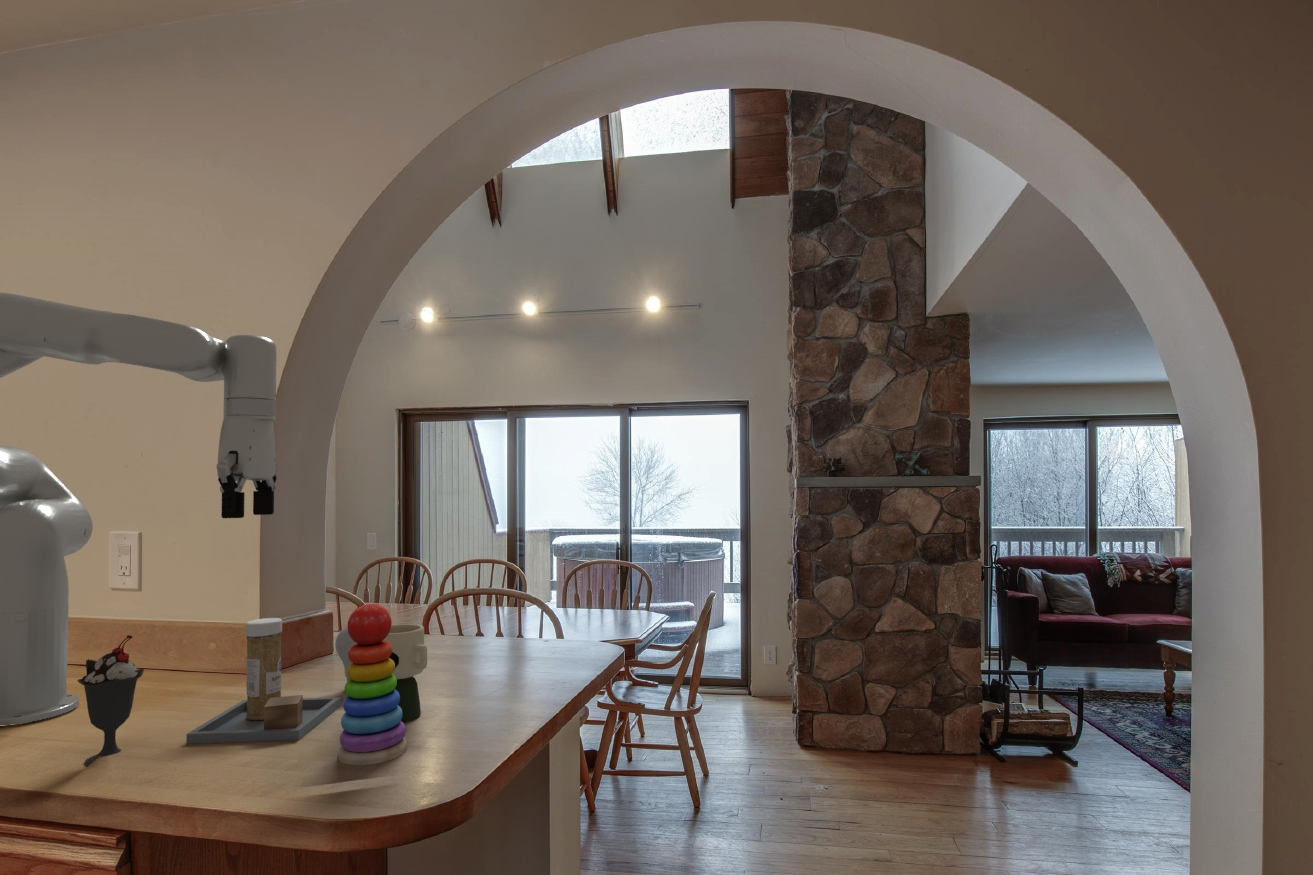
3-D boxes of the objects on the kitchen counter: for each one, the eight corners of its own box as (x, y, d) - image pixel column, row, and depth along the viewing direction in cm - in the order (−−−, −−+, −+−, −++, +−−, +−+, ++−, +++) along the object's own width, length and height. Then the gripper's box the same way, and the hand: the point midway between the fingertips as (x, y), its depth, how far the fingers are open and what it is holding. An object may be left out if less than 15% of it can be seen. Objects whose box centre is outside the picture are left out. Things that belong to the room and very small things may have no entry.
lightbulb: (340, 701, 112) (340, 628, 112) (331, 692, 117) (331, 622, 117) (381, 693, 116) (381, 623, 116) (370, 685, 120) (370, 617, 121)
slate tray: (186, 749, 93) (186, 733, 93) (243, 713, 107) (243, 699, 107) (298, 746, 93) (298, 730, 93) (340, 710, 107) (340, 697, 107)
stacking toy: (373, 742, 94) (374, 596, 95) (421, 751, 91) (421, 600, 92) (322, 765, 87) (323, 607, 88) (372, 776, 84) (373, 611, 85)
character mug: (349, 724, 101) (349, 629, 102) (389, 709, 107) (390, 620, 108) (405, 737, 96) (405, 637, 97) (444, 720, 102) (444, 627, 103)
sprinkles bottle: (284, 716, 102) (284, 620, 103) (247, 723, 100) (247, 624, 100) (279, 708, 106) (279, 615, 107) (243, 715, 104) (244, 619, 104)
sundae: (147, 757, 90) (150, 635, 91) (79, 774, 85) (82, 644, 86) (137, 744, 95) (140, 627, 96) (72, 758, 90) (75, 636, 91)
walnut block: (263, 738, 94) (263, 706, 94) (269, 728, 98) (270, 697, 98) (297, 734, 95) (298, 703, 96) (302, 724, 99) (302, 694, 99)
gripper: (253, 416, 128) (251, 513, 127) (195, 407, 111) (194, 520, 110) (296, 415, 128) (295, 513, 128) (246, 406, 111) (245, 519, 110)
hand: (248, 516), depth 119 cm, fingers open, 9 cm apart
